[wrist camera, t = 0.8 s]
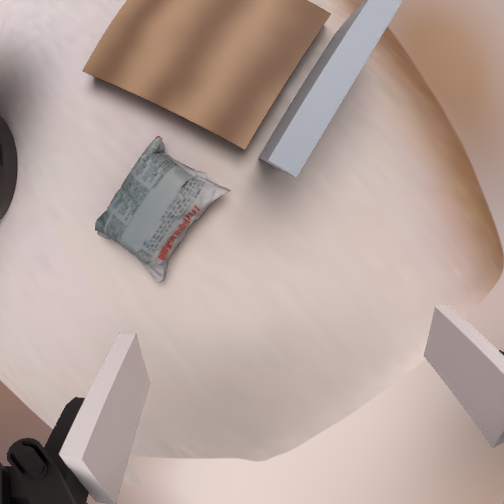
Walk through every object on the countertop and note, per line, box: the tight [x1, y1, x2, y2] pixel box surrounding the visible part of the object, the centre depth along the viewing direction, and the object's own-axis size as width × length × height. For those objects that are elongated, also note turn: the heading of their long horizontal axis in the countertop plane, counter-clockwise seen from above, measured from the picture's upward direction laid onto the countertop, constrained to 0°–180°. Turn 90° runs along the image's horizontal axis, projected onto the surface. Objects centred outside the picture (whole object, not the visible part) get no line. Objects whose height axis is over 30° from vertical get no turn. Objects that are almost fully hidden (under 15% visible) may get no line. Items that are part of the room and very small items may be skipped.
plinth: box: [83, 0, 331, 150], centre depth 25 cm, size 18×16×3 cm
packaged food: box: [95, 136, 230, 282], centre depth 29 cm, size 9×12×5 cm
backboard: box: [258, 0, 402, 177], centre depth 23 cm, size 2×16×12 cm, turn 150°
